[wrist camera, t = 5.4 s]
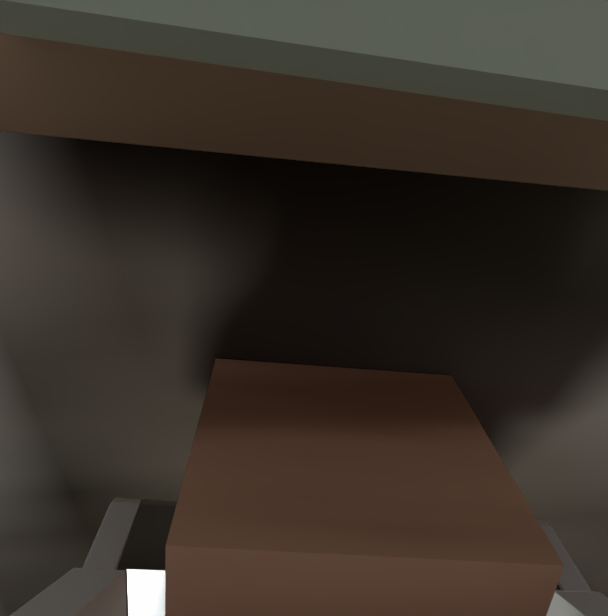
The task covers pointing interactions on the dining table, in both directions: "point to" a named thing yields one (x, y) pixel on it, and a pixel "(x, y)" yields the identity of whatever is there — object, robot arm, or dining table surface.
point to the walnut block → (287, 116)
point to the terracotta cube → (349, 502)
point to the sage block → (361, 42)
